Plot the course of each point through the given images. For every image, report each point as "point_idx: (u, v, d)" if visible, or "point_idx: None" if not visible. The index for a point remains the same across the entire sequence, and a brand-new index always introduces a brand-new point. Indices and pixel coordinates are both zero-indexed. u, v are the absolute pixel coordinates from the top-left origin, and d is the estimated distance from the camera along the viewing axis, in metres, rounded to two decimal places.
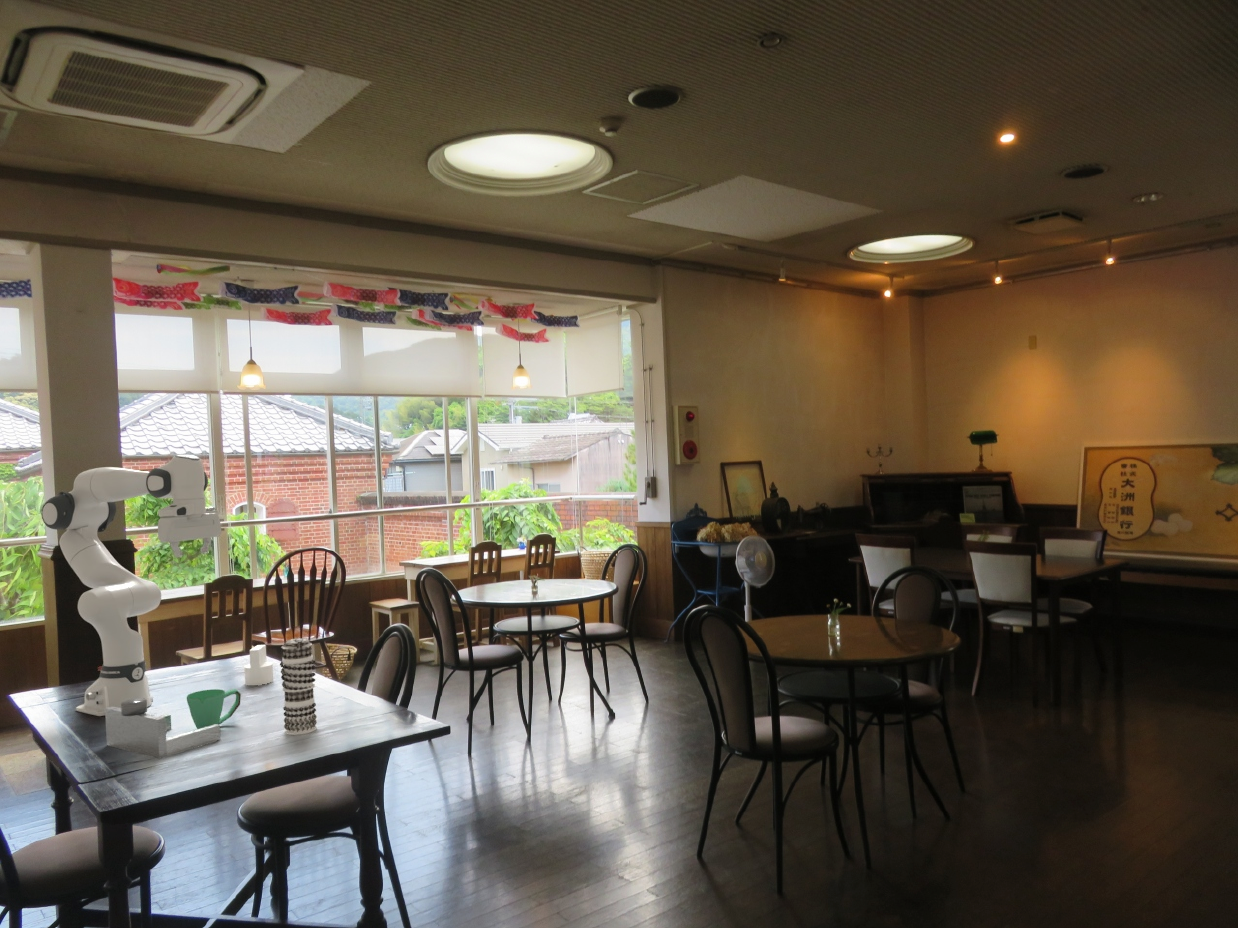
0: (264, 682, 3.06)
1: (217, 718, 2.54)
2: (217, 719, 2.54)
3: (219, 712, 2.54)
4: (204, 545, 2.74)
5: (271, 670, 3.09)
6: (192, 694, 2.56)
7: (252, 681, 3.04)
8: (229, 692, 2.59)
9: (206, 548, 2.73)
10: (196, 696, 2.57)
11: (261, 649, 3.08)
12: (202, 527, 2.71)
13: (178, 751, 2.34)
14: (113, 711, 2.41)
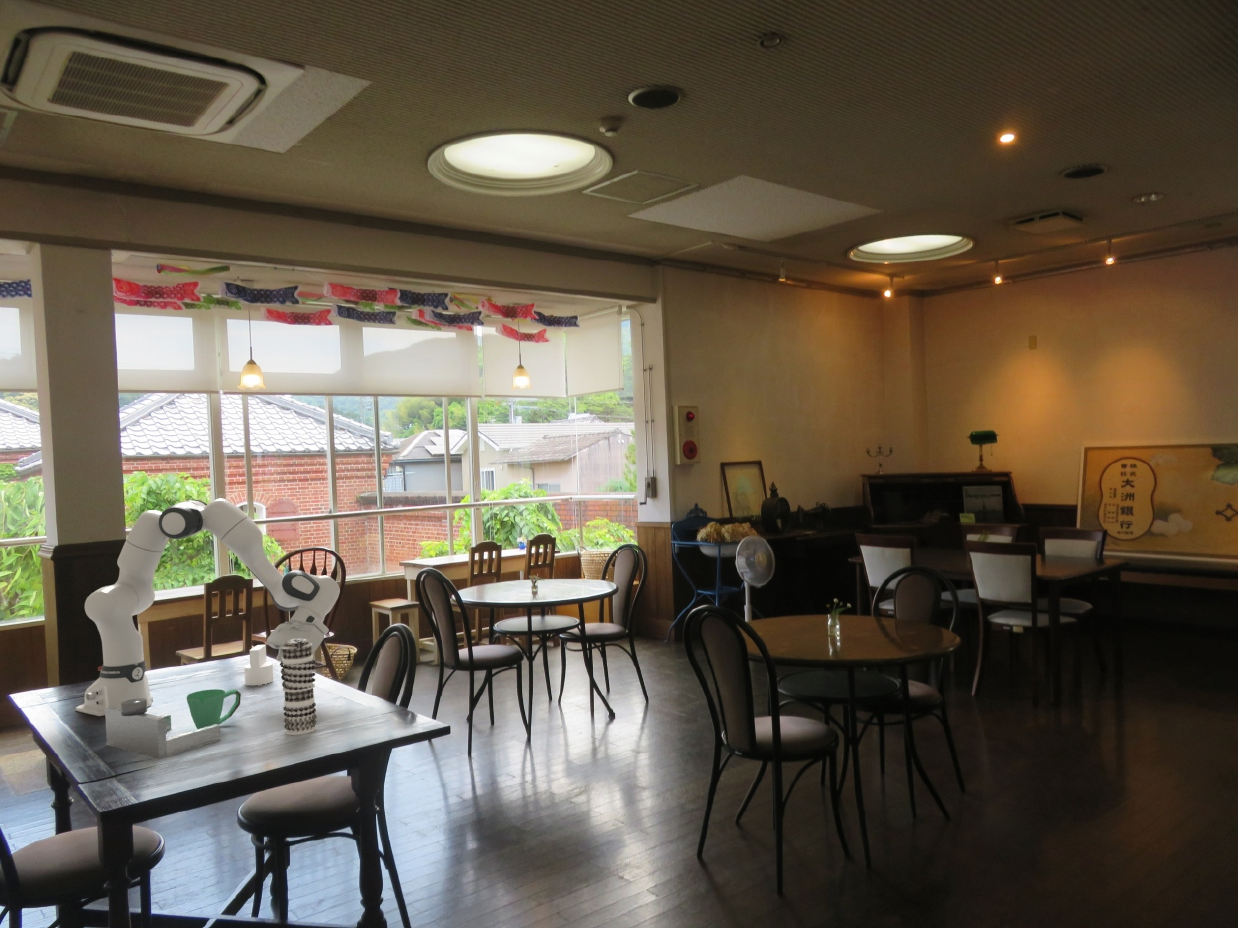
0: (264, 682, 3.06)
1: (217, 718, 2.54)
2: (217, 719, 2.54)
3: (219, 712, 2.54)
4: (281, 653, 2.77)
5: (271, 670, 3.09)
6: (192, 694, 2.56)
7: (252, 681, 3.04)
8: (229, 692, 2.59)
9: None
10: (196, 696, 2.57)
11: (261, 649, 3.08)
12: None
13: (178, 751, 2.34)
14: (113, 711, 2.41)
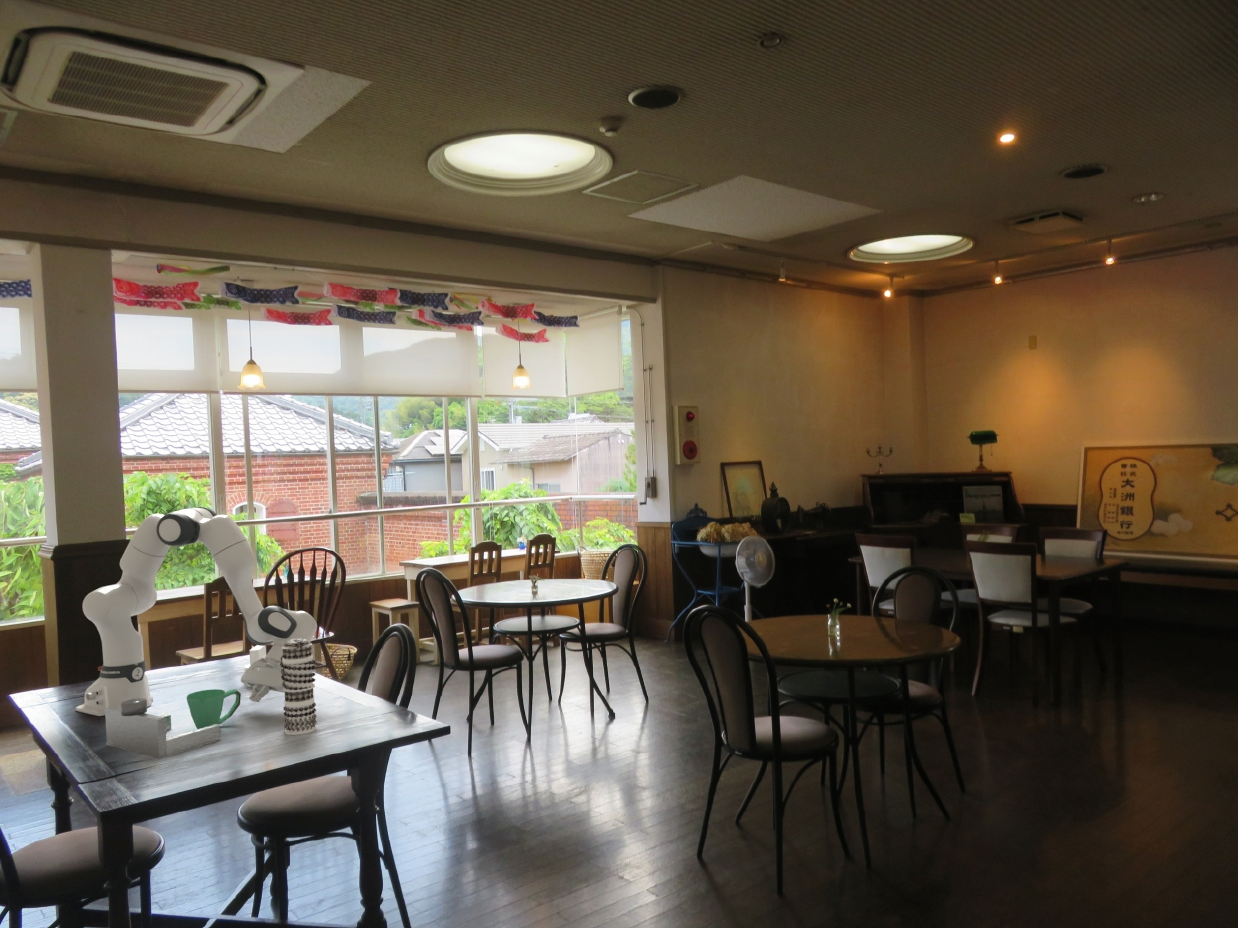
0: None
1: (217, 718, 2.54)
2: (217, 719, 2.54)
3: (219, 712, 2.54)
4: (255, 692, 2.69)
5: None
6: (192, 694, 2.56)
7: None
8: (229, 692, 2.59)
9: None
10: (196, 696, 2.57)
11: (261, 649, 3.08)
12: None
13: (178, 751, 2.34)
14: (113, 711, 2.41)
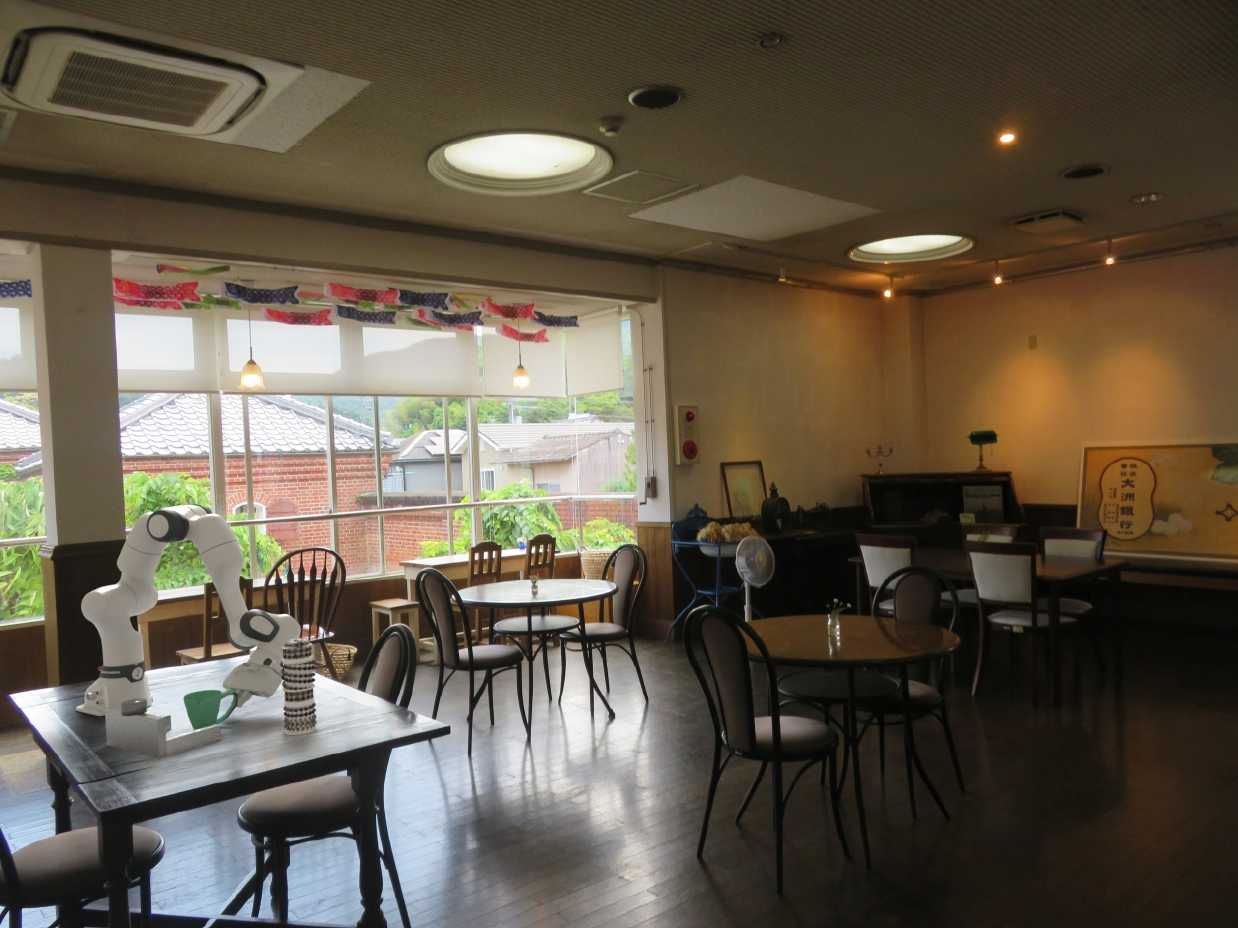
0: None
1: (214, 719, 2.53)
2: (214, 720, 2.53)
3: (216, 713, 2.53)
4: None
5: None
6: (189, 695, 2.56)
7: None
8: (226, 693, 2.58)
9: None
10: (193, 697, 2.57)
11: None
12: None
13: (178, 751, 2.34)
14: (113, 711, 2.41)
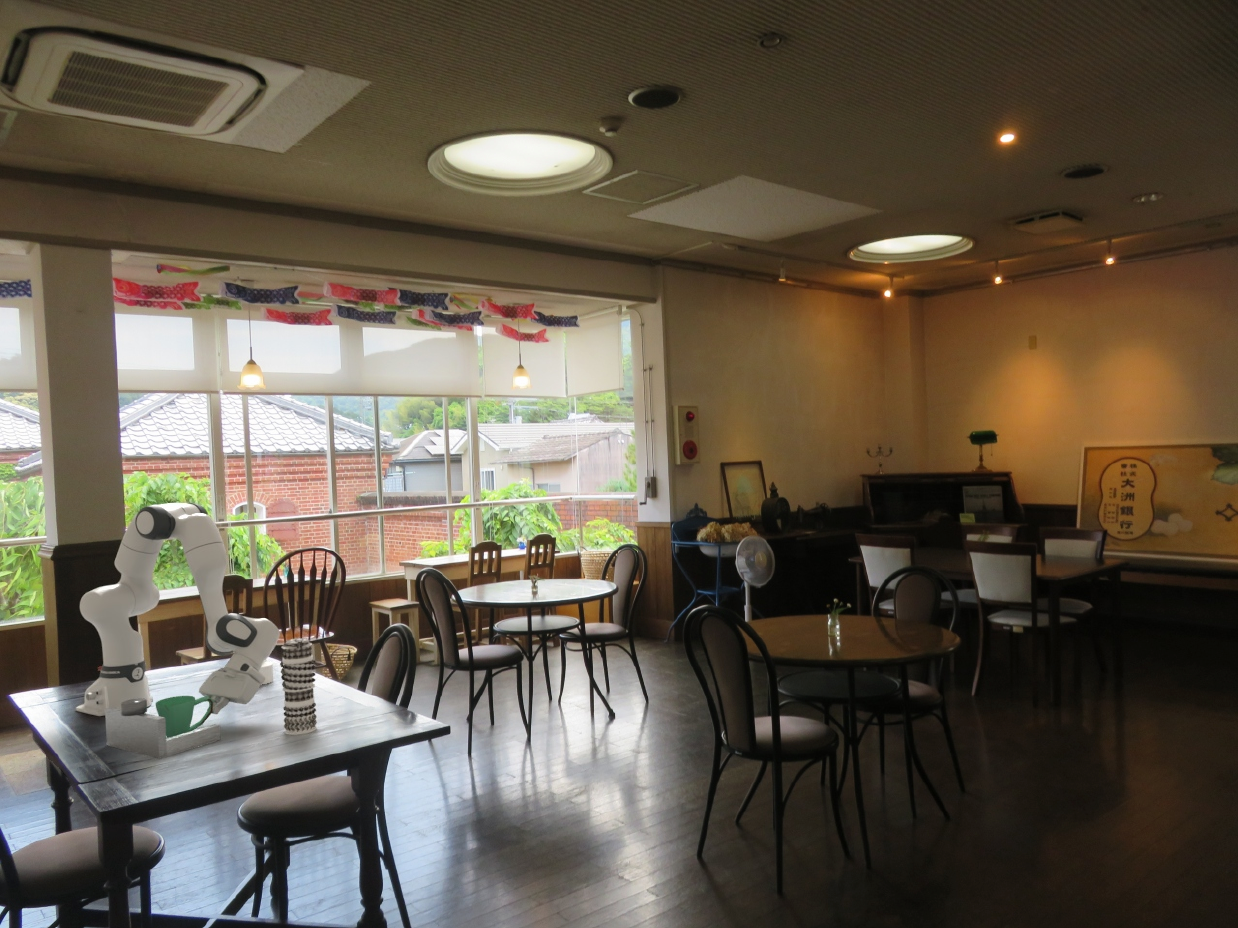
0: (264, 682, 3.06)
1: (185, 726, 2.47)
2: (185, 727, 2.47)
3: (187, 720, 2.47)
4: (213, 704, 2.57)
5: (271, 670, 3.09)
6: (164, 700, 2.51)
7: None
8: (200, 699, 2.52)
9: None
10: (168, 702, 2.52)
11: None
12: None
13: (178, 751, 2.34)
14: (113, 711, 2.41)
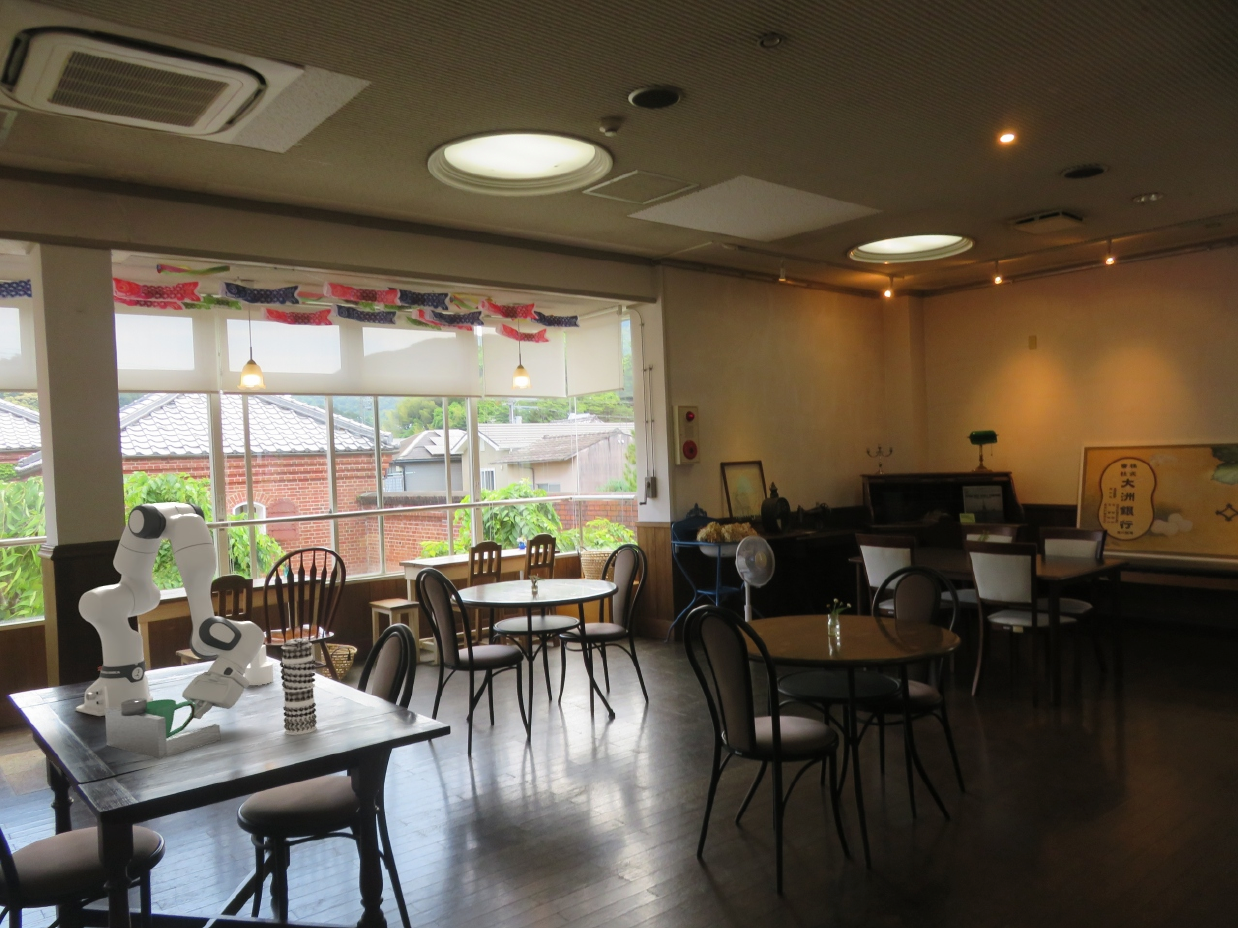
0: (264, 682, 3.06)
1: None
2: None
3: (166, 725, 2.43)
4: (196, 709, 2.53)
5: (271, 670, 3.09)
6: (147, 703, 2.48)
7: (253, 681, 3.04)
8: (181, 704, 2.47)
9: None
10: (152, 705, 2.49)
11: (261, 649, 3.08)
12: None
13: (178, 751, 2.34)
14: (113, 711, 2.41)
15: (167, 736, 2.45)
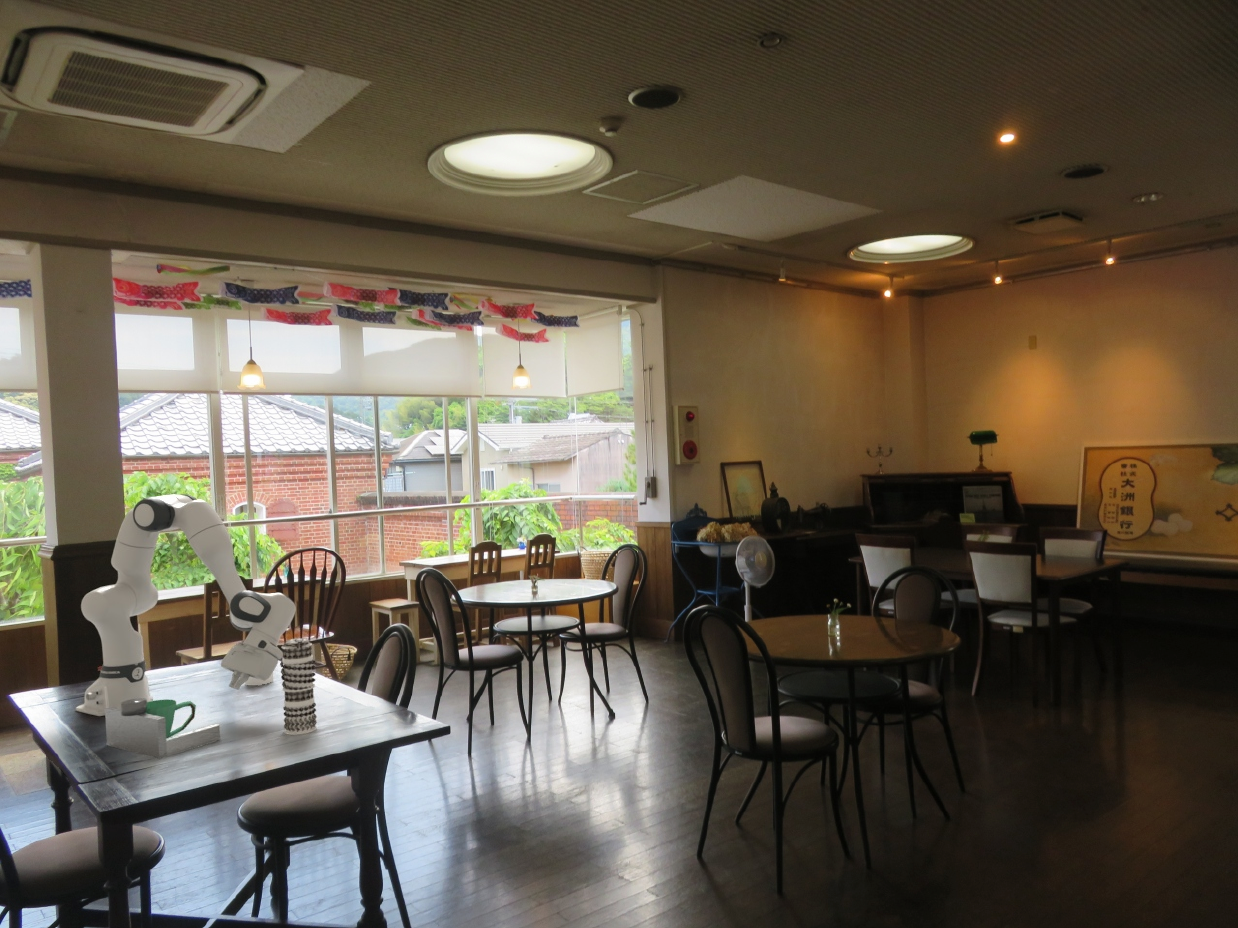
0: (264, 682, 3.06)
1: None
2: None
3: (166, 725, 2.43)
4: (234, 679, 2.64)
5: None
6: (147, 703, 2.48)
7: (253, 681, 3.04)
8: (181, 704, 2.47)
9: None
10: (152, 705, 2.49)
11: None
12: None
13: (178, 751, 2.34)
14: (113, 711, 2.41)
15: (167, 736, 2.45)
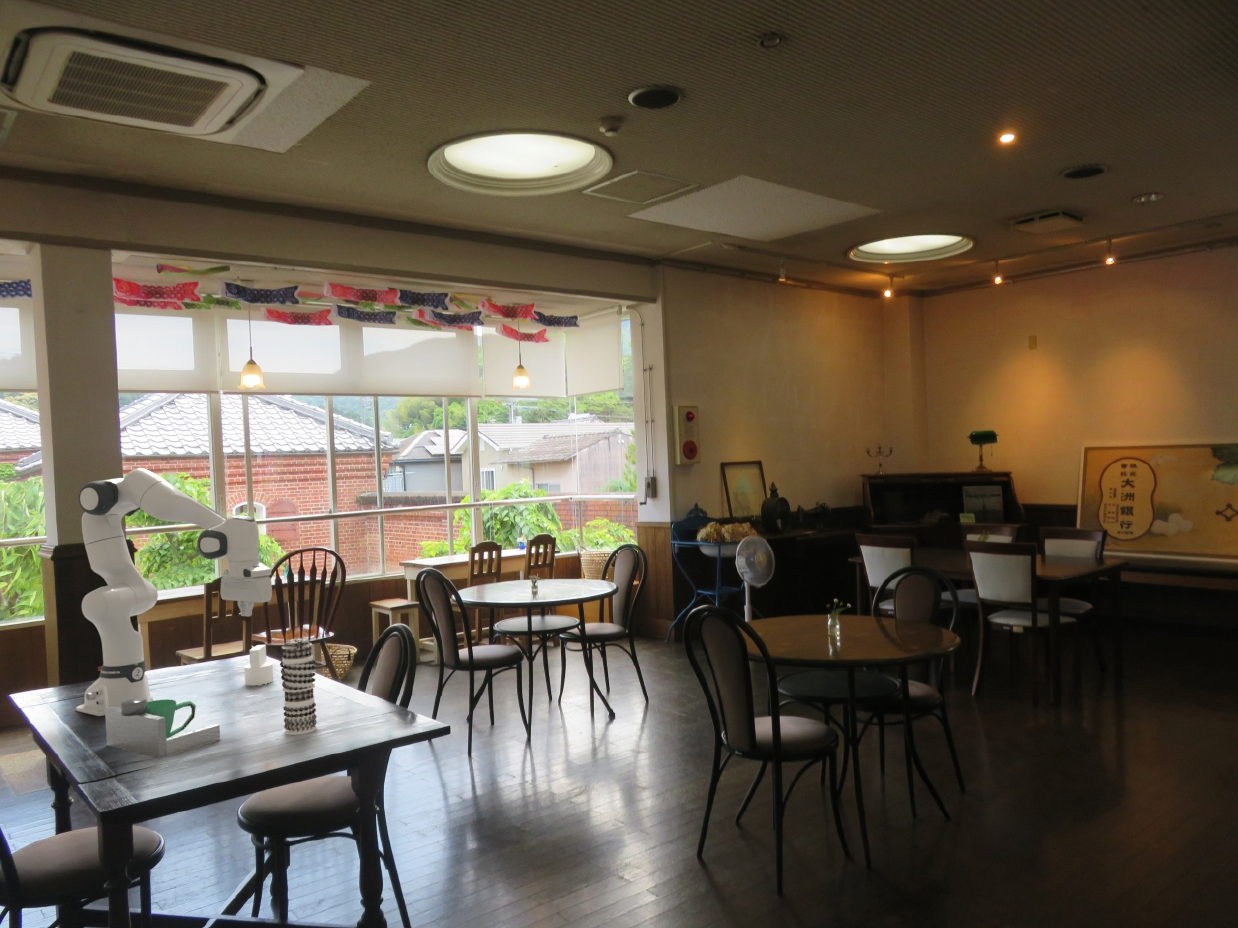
0: (264, 682, 3.06)
1: None
2: None
3: (166, 725, 2.43)
4: (243, 608, 2.70)
5: (271, 670, 3.09)
6: (147, 703, 2.48)
7: (253, 681, 3.04)
8: (181, 704, 2.47)
9: None
10: (152, 705, 2.49)
11: (261, 649, 3.08)
12: None
13: (178, 751, 2.34)
14: (113, 711, 2.41)
15: (167, 736, 2.45)
